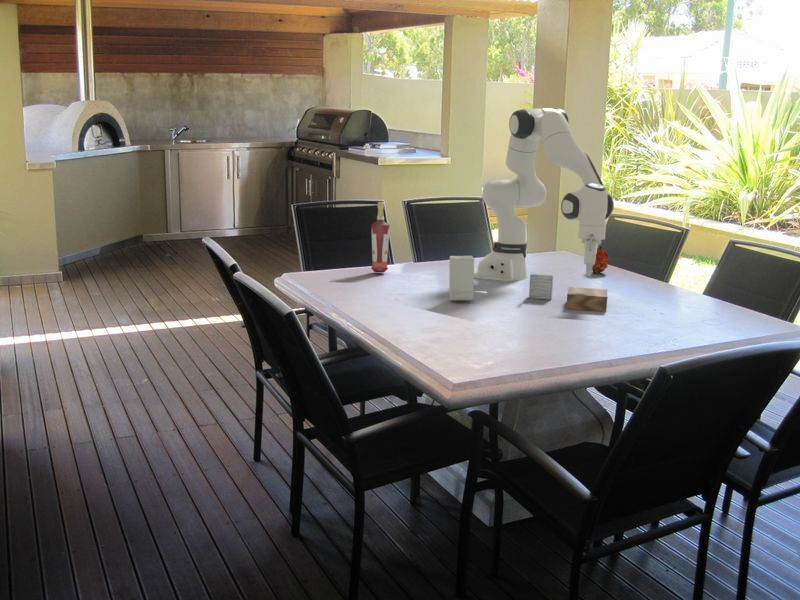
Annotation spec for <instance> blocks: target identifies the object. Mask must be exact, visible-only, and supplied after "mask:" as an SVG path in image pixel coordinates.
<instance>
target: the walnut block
mask: <svg viewBox="0 0 800 600" xmlns="http://www.w3.org/2000/svg"><path fill="white" fill-rule="evenodd" d="M565 306H566V310H575V311H577V310H579V311H589V312H590V311H591V312H592V311H593V312H594V311H595V312H607V306H608V289H603V288H590V287H577V286H576V287H575V286H569V287H568V291H567V294H566V305H565Z"/></svg>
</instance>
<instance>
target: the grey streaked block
mask: <svg viewBox="0 0 800 600" xmlns="http://www.w3.org/2000/svg"><path fill="white" fill-rule="evenodd" d="M553 285H554V274H553V273H543V272H531V273H530V275H529V289H528V291H529V292H528V299H532V300H533V299H536V300H550V301H551V300H552V299H553Z"/></svg>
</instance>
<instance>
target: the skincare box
mask: <svg viewBox="0 0 800 600" xmlns="http://www.w3.org/2000/svg"><path fill="white" fill-rule="evenodd" d="M448 265H449V277H448V278H449V279H448V280H449V285H448V287H449V289H448V291H449V293H448V294H449V295H448V296H449V298H450V300H451V301H455V300H457V301H459V300H464V301H465V300H466V301H467V300H468V301H469V300H471V301H472V300H474V287H475V285H474V284H475V283H474V281H475V280H474V279H475V278H474V271H475V258H474V257H473V255H449V264H448Z"/></svg>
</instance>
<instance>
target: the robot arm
mask: <svg viewBox="0 0 800 600" xmlns="http://www.w3.org/2000/svg"><path fill="white" fill-rule="evenodd" d="M569 123H570V122H569V117H568V115H567V112H566V111H565V110H563V109H561V108H556V107H554V108H552V107H551V108H550V107H549V108H548V107H538V108H527V109H524V108H523V109H518V110H515V111H514V112H513V113H512V114H511V116H510V117H509V123H508V124H509V125H508V127H509V131H510V137H509V142H508V146H507V147H508V148H507V153H506V159H505V164H506V165H505V166H506V167H507V169H508V170H509V171H510V172H512V173H513V174H515V175H516V179H515V178H514V179H495V180H491V181H488V182H486V183H485V185H484V186H483V188H482V193H481V194H482V195H481V197H482V200H483V202H484V204H485V205H486V206H488V208H489V209H491V210H492V212H493V213H494V215H495V217H496V221H497V230H498V231H497V236H498V237H497V238H498V239H497V241H496V240H495V241H493V243H492V251H491V252H489V253H488V254H486V255H485V256H484V257H483V258H481V259H480V260H479V262H478V264H477V268H476V270H474V279H483V280H493V281H502V282H514V281H523V280H526V279H529V275H528V270H527V261H526V260H527V254H528V243H527V231H528V226H527V223H526V221H525V220H524V219H522V217H519V216H517V215H516V214H515V208H516V209H517V208H523V209H524V208H525V209H526V208H528V209H530V208H535V207H540V206H543V204H544V203H545V201H546V199H547V188H546V185H544V183H543V182H542V180H540V179H539V177H538V176H537V173H536V158H537V153H538V150H539V149H538V148H539V142H540V140H541V142H540V143H541V145H542V149H543V152H544V155H545V157H546V158H547V160H548V161H549V162H550V163H551V164H554V165H555V166H558V167H561V168H564V169H567V170H569V171H572V172H573V173H575V174H577V175H578V176H579V177H580V179H581V182H583V186H582V187H581V188H580V189H577V190H575V191H572V192H567V193H566V194H565V195H564V197H563V198H562V200H561V205H560V209H561V213H562V215H563V217H565V219H566V220H570V221H579V223H578V232H577V233H578V234H577V238H578V239H581V243H582V244H583V245H584V253H583V254H584V255H583V263H584V265H585V267H586V269H585V270H586V271H585V275H586V276H590V277H591V276H592V273H593V272H592V267H593V265H594V264H595V260H596V253H597V249H598V248H599V245H601V244H602V240H606V232H607V231H606V230H607V222H606V220H607V219H608V218H609V217H610V216H611V214H612V213H613V211H614V209H615V208H614V207H615V205H614V199H613V198H612V195H611V194H610V192H609V191H608V190H607V188H606V187H605V185H604V183H603V182H602V180H601V179H602V178H600V175H599V173H598V171H597V169H596V167H595V165H594V164H593V161H592V160H591V158H590V157H589V155H588V154H587V153H586V152H585V151H583V149H582V148H581V147H580V146H579V145H578V142H577V141H576V140H575V137H574V135H573V132H572V129H571V126H570V124H569Z"/></svg>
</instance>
